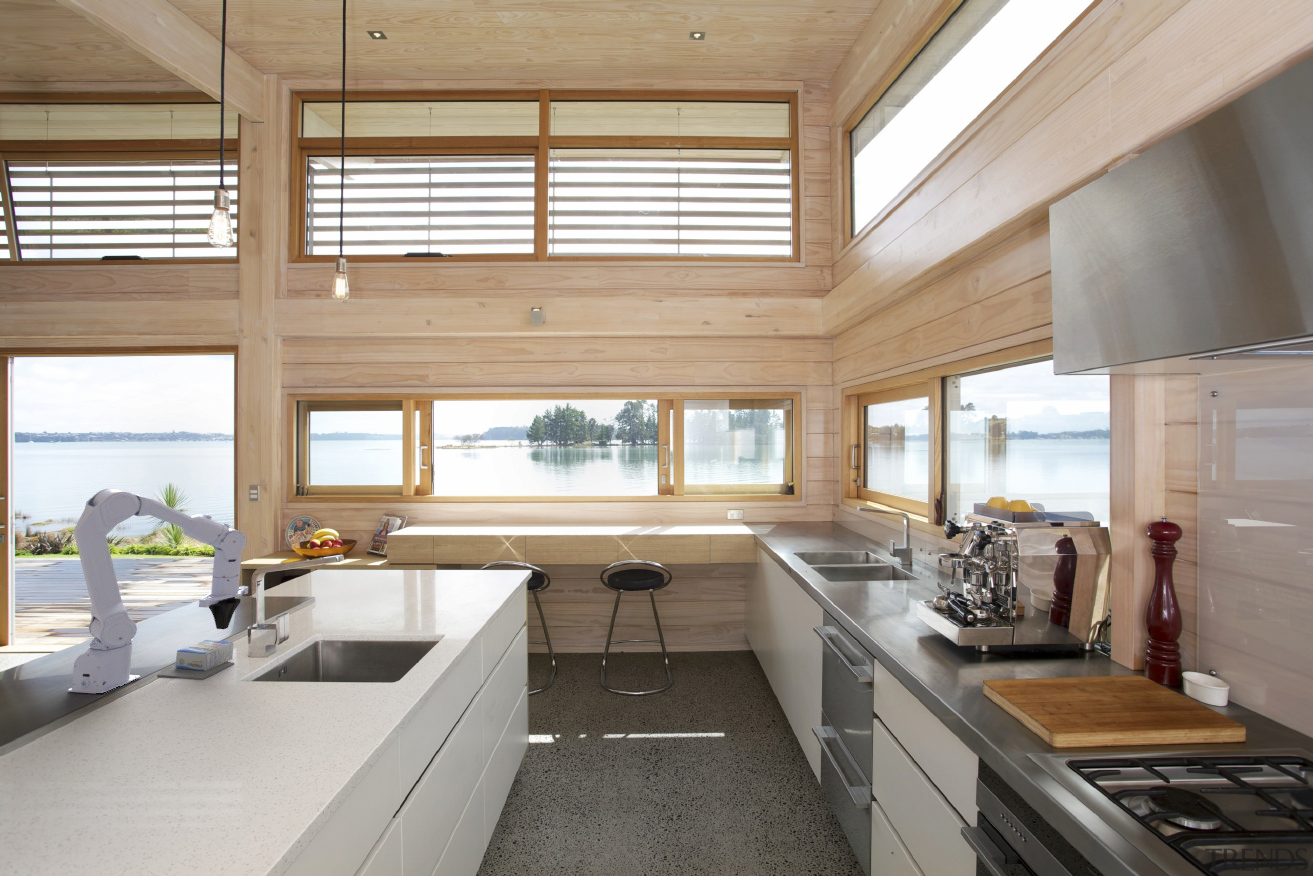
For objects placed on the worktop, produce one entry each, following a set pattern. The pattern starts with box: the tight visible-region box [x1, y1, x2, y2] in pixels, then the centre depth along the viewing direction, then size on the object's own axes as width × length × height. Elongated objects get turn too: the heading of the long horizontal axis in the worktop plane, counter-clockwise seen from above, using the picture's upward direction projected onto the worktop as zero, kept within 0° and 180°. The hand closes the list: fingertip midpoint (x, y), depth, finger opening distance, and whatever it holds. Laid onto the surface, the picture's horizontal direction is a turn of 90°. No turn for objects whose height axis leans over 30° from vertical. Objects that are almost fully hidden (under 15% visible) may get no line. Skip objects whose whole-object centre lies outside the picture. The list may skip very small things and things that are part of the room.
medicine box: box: [175, 639, 234, 671], centre depth 148 cm, size 8×4×9 cm
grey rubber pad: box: [156, 661, 235, 680], centre depth 144 cm, size 10×11×1 cm
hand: (222, 628), depth 152 cm, fingers closed
